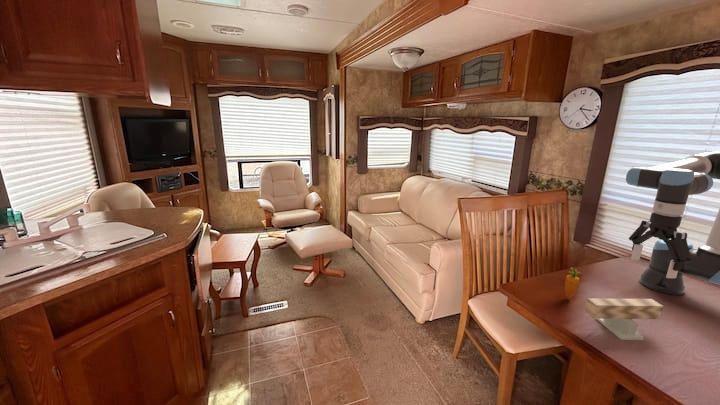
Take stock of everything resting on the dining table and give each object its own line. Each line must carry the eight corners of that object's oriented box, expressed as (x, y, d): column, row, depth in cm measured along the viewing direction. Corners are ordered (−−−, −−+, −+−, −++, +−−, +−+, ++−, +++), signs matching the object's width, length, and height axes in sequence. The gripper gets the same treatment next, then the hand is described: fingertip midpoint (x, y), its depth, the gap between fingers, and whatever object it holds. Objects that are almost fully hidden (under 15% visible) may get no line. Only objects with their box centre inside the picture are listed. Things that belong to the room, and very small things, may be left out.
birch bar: (648, 311, 110) (651, 298, 109) (659, 319, 106) (663, 306, 105) (584, 310, 111) (587, 298, 109) (593, 318, 107) (596, 305, 105)
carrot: (577, 303, 126) (584, 272, 122) (564, 302, 127) (571, 270, 123) (571, 296, 130) (578, 266, 126) (559, 295, 131) (565, 265, 127)
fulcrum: (615, 318, 116) (619, 305, 114) (643, 340, 104) (647, 325, 103) (595, 318, 116) (598, 305, 114) (621, 339, 104) (625, 325, 103)
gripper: (624, 204, 114) (613, 253, 119) (695, 225, 90) (677, 286, 95) (644, 203, 114) (631, 253, 119) (720, 225, 89) (700, 286, 95)
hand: (651, 268), depth 107 cm, fingers open, 13 cm apart
